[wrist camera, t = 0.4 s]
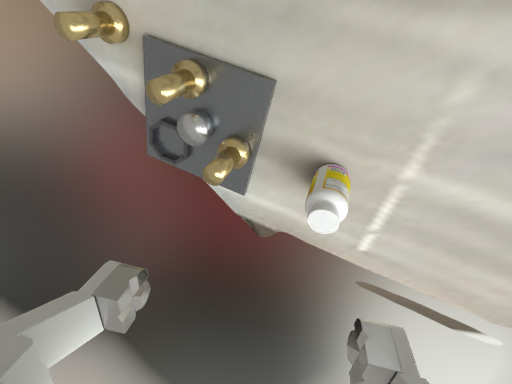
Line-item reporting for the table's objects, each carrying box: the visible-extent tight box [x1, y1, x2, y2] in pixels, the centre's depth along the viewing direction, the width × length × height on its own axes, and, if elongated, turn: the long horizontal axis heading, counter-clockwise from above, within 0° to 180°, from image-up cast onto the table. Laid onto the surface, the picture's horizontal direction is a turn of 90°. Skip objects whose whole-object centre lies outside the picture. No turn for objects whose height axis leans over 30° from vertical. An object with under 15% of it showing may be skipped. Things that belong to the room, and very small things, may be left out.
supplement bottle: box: [305, 164, 351, 234], centre depth 44 cm, size 7×7×13 cm
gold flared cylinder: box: [54, 2, 129, 44], centre depth 43 cm, size 6×6×10 cm
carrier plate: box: [143, 35, 277, 196], centre depth 47 cm, size 24×24×12 cm
